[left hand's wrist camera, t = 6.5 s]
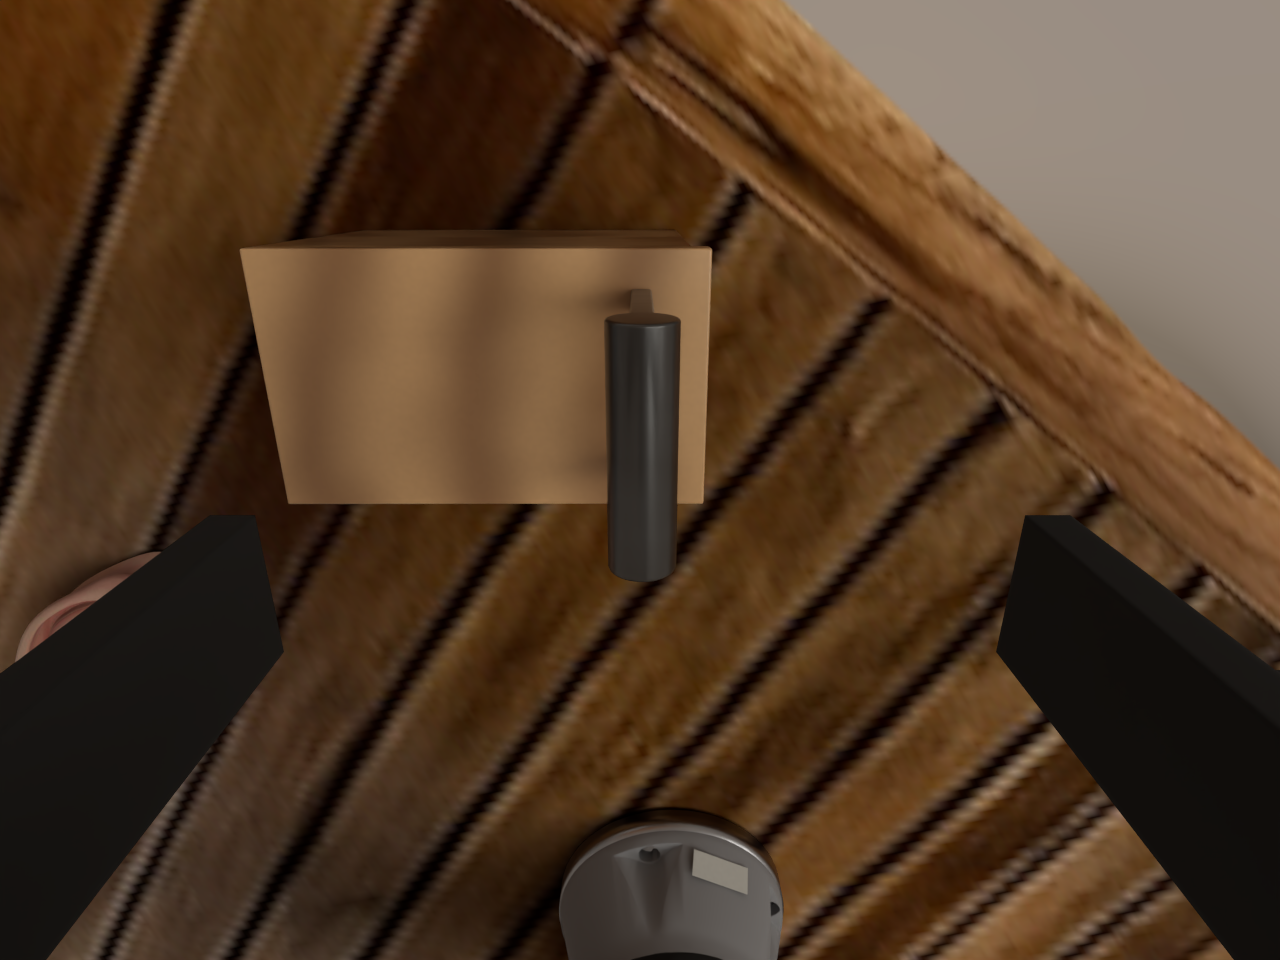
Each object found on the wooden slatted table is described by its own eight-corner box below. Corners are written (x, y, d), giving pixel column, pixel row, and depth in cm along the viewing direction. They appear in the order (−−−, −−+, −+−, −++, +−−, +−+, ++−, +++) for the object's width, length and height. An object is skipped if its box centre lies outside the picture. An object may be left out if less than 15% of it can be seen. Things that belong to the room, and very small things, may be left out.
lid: (710, 246, 25) (745, 273, 17) (701, 494, 28) (727, 619, 20) (252, 246, 25) (61, 274, 17) (298, 495, 28) (158, 620, 20)
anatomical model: (230, 593, 38) (255, 767, 42) (267, 557, 42) (286, 720, 46) (-32, 575, 38) (20, 752, 42) (28, 541, 41) (70, 706, 45)
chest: (676, 229, 35) (691, 245, 25) (673, 413, 39) (685, 494, 28) (365, 230, 35) (252, 246, 25) (389, 413, 39) (298, 494, 28)
